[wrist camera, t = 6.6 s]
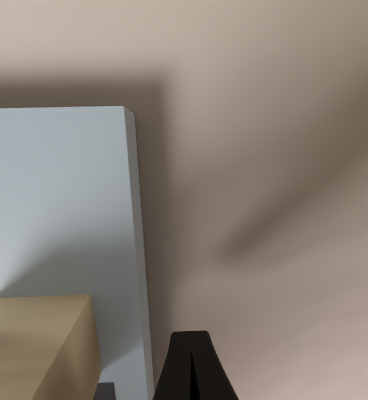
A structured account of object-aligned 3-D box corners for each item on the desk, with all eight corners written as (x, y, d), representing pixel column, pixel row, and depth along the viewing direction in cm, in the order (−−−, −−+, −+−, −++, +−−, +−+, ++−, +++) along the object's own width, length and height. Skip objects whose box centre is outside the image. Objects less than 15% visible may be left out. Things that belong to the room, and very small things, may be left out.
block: (102, 369, 10) (56, 506, 6) (13, 374, 10) (-87, 515, 6) (91, 293, 9) (30, 400, 5) (-7, 298, 9) (-140, 409, 5)
